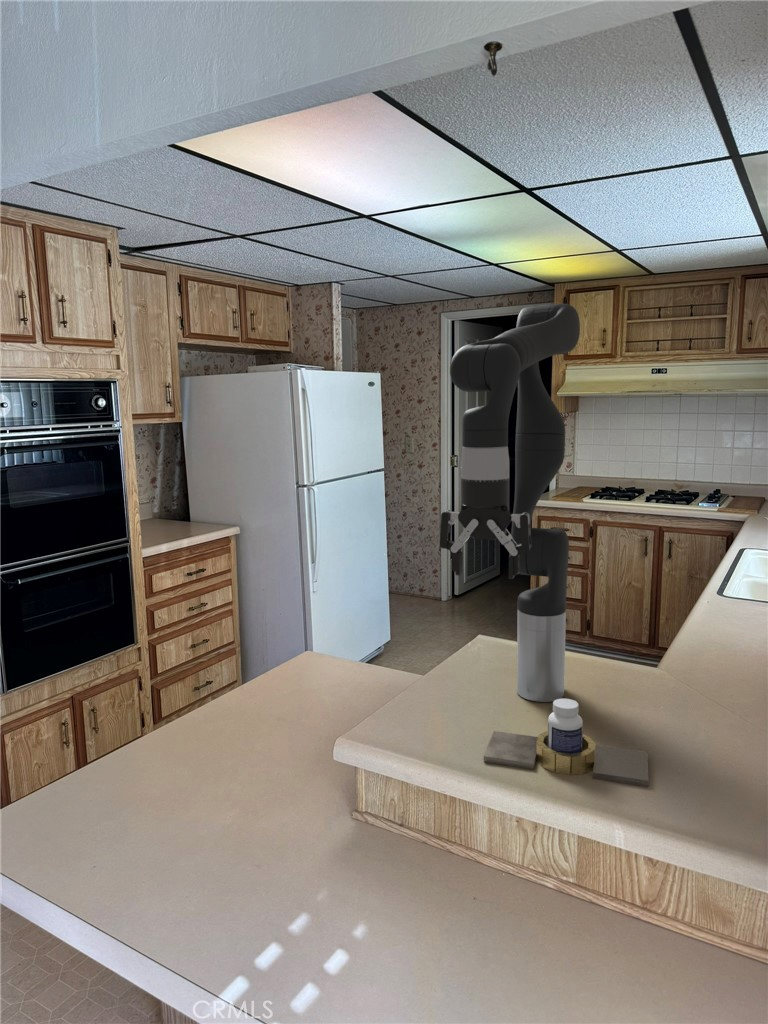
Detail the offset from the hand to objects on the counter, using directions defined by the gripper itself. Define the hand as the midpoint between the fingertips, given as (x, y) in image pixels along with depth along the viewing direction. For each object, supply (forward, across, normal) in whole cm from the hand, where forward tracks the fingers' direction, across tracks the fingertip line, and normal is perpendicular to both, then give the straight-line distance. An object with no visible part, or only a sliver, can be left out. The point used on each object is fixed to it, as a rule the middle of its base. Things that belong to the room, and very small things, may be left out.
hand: (485, 576), depth 111 cm
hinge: (+30, -13, -1) cm, 33 cm away
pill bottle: (+30, -13, -1) cm, 33 cm away
